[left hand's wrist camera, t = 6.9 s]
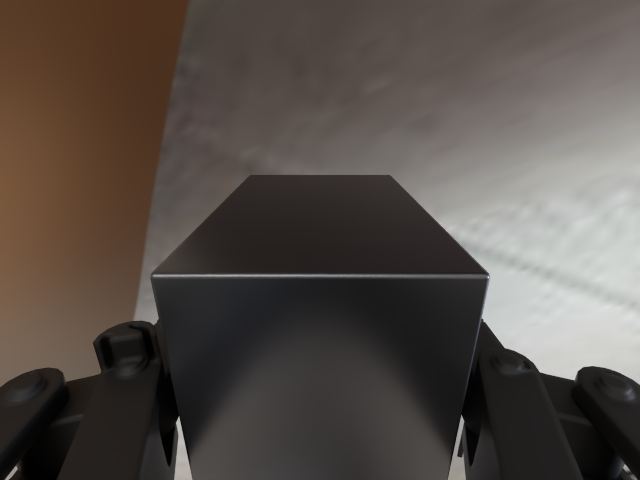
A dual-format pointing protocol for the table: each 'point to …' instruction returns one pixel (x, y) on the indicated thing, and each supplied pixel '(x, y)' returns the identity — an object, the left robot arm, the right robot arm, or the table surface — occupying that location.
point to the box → (320, 332)
